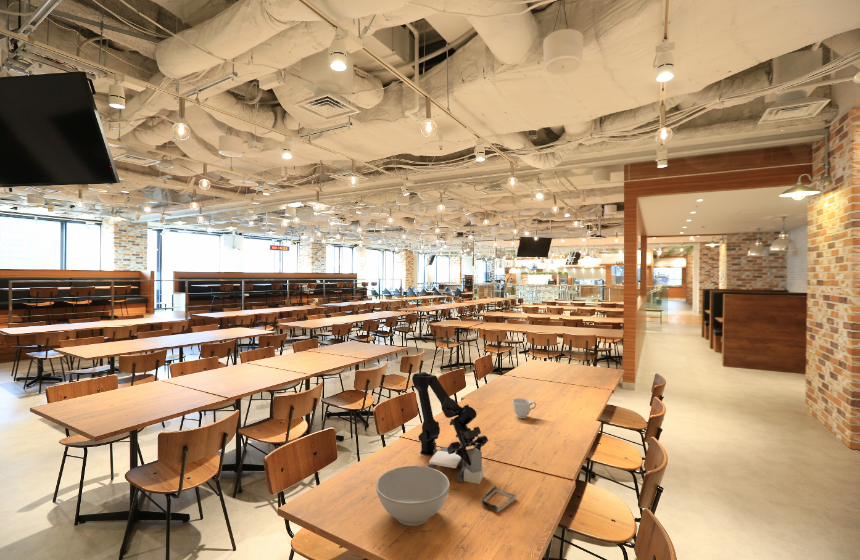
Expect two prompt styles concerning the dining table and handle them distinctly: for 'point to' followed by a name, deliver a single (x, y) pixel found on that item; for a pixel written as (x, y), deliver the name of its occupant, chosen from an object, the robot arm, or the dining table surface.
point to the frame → (461, 473)
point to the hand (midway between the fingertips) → (475, 463)
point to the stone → (474, 460)
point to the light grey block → (473, 476)
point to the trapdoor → (446, 459)
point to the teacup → (522, 407)
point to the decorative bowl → (412, 493)
